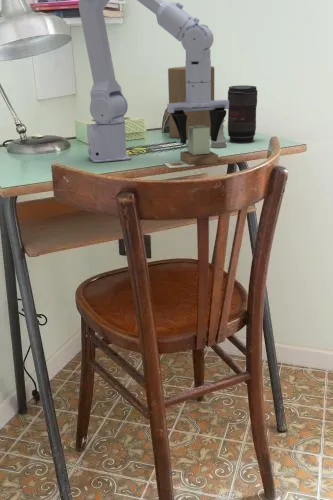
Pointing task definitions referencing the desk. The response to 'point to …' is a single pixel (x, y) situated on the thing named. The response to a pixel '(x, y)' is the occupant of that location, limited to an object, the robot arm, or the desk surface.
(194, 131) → the top brick
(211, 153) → the base brick
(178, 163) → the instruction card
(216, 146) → the rook chess piece
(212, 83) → the wooden block
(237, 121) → the camera lens
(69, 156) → the desk surface
